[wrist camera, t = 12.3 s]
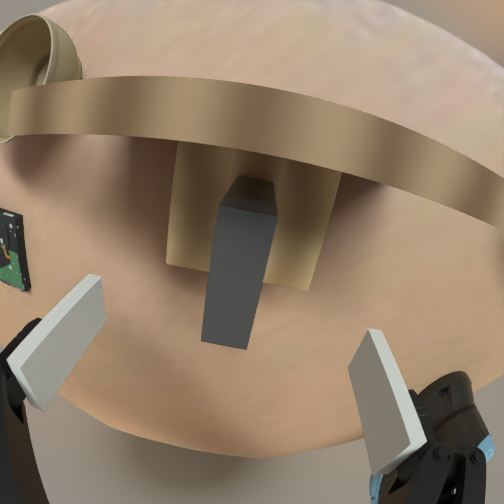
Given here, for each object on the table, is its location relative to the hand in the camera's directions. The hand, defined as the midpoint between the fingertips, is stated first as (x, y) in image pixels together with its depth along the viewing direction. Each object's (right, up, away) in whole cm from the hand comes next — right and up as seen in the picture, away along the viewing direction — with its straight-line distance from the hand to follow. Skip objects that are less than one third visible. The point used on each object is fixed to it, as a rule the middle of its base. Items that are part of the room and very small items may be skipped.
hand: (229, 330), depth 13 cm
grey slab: (+1, +8, +18) cm, 19 cm away
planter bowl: (-26, +27, +14) cm, 40 cm away
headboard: (+2, +12, +19) cm, 23 cm away
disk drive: (-44, +5, +26) cm, 51 cm away
